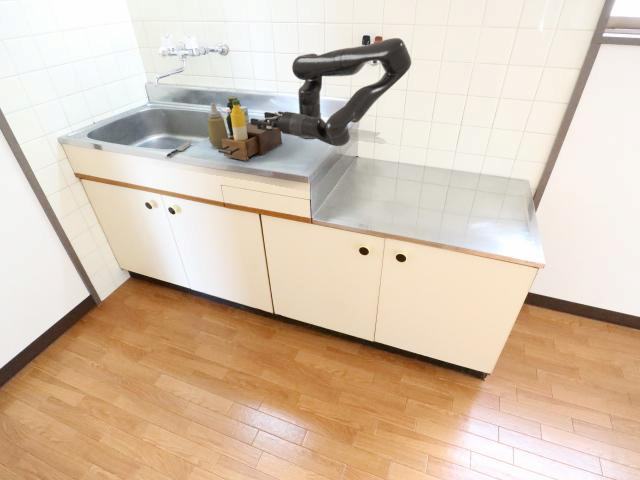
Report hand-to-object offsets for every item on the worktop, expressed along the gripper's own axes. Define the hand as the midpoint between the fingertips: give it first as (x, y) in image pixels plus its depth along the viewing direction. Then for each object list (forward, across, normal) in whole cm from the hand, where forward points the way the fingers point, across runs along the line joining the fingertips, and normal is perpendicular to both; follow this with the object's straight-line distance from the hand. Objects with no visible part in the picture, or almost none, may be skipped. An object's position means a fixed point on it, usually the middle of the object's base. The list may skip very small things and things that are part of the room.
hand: (258, 118), depth 137 cm
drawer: (+10, -1, -16) cm, 18 cm away
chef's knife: (+38, -6, -17) cm, 42 cm away
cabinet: (+10, +11, -17) cm, 22 cm away
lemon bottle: (+9, 0, -14) cm, 17 cm away
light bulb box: (+32, +23, -17) cm, 43 cm away
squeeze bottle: (+26, +4, -17) cm, 31 cm away
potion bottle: (+24, +14, -17) cm, 32 cm away
